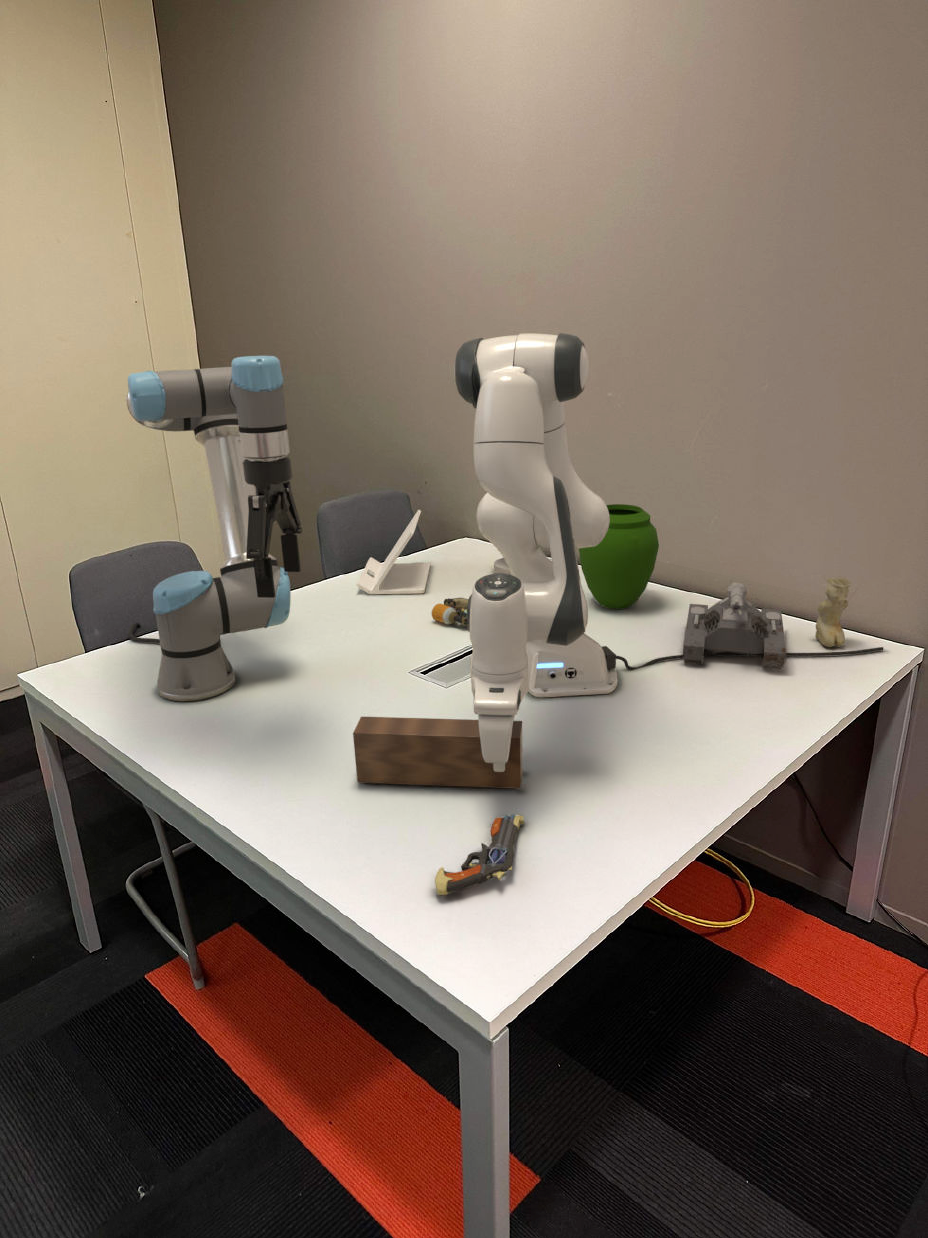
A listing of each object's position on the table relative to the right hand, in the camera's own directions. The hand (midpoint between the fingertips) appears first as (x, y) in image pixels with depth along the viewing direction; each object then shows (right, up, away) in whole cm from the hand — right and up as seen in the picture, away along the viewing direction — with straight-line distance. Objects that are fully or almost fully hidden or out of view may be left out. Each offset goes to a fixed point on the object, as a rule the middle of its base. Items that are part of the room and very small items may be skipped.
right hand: (501, 758), depth 136 cm
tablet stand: (-25, +33, +102) cm, 111 cm away
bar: (-10, -3, +3) cm, 11 cm away
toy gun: (-4, -11, -17) cm, 21 cm away
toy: (+53, +16, +50) cm, 75 cm away
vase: (+32, +26, +78) cm, 88 cm away
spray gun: (-6, +22, +73) cm, 76 cm away
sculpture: (+74, +17, +51) cm, 92 cm away
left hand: (-37, +28, +8) cm, 47 cm away
